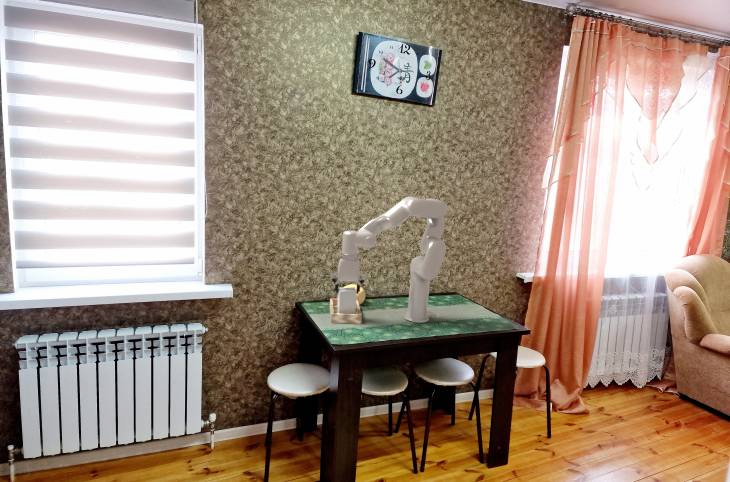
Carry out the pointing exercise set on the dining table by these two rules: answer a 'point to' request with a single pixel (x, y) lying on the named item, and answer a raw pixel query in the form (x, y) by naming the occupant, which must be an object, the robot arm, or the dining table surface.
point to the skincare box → (346, 300)
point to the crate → (344, 317)
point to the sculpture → (360, 295)
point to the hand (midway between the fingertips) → (347, 292)
